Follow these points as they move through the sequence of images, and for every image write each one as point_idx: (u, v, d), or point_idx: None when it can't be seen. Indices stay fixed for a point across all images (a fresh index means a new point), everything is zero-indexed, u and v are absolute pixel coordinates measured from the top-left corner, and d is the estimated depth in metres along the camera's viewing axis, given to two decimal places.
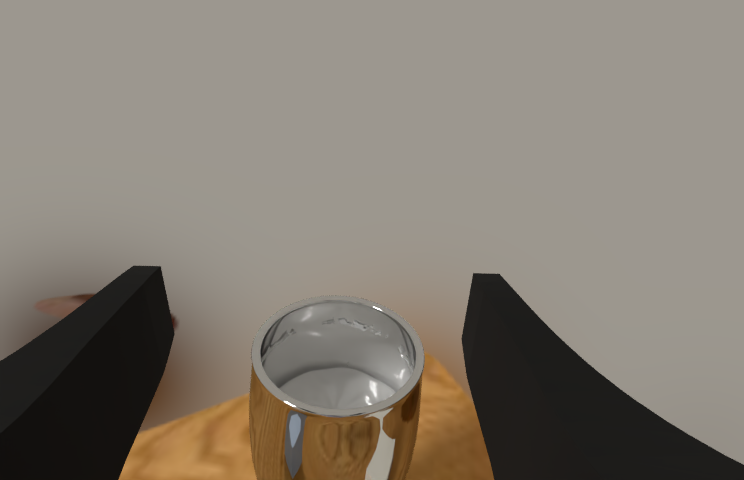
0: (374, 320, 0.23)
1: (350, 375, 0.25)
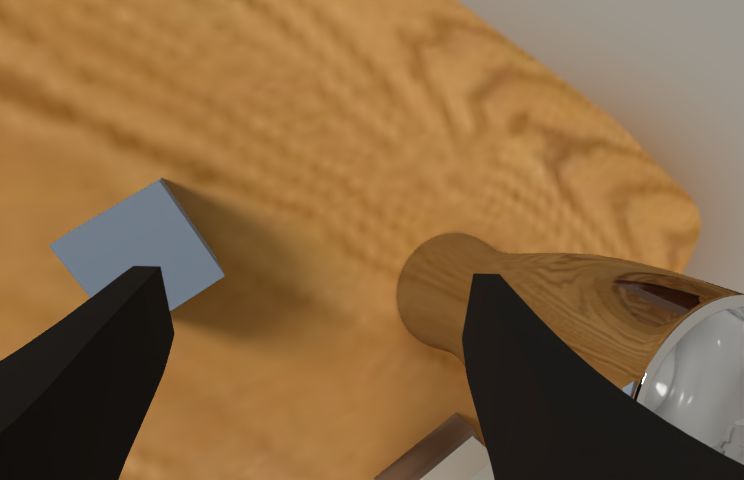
0: None
1: None
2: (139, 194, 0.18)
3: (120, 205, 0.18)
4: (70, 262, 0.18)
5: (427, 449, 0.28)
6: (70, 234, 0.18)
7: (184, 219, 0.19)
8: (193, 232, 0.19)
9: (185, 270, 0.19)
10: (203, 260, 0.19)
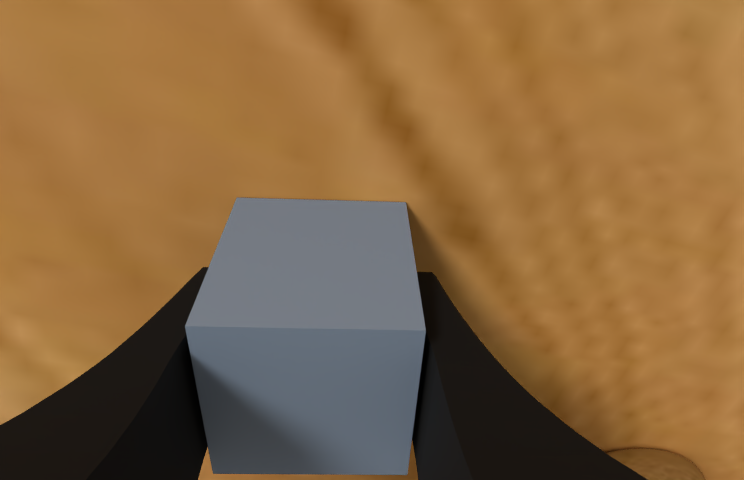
0: None
1: None
2: (379, 332, 0.09)
3: (337, 331, 0.09)
4: (203, 360, 0.09)
5: None
6: (229, 328, 0.09)
7: (415, 392, 0.10)
8: (412, 411, 0.10)
9: (360, 445, 0.11)
10: (395, 447, 0.11)
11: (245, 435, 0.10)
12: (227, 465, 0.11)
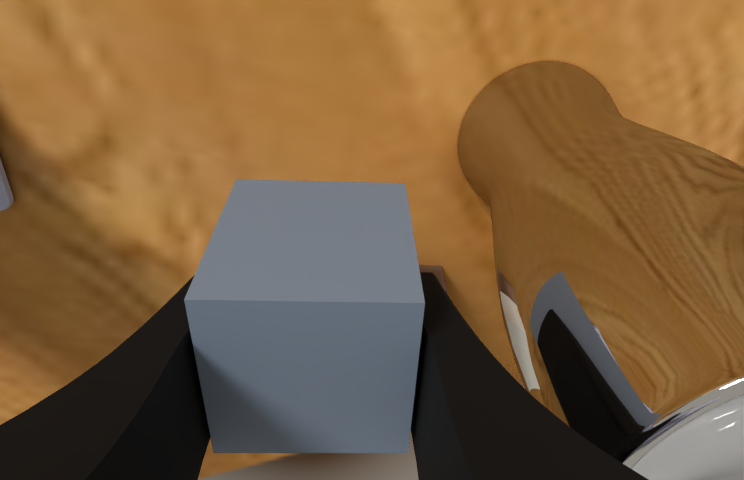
0: None
1: None
2: (378, 304, 0.09)
3: (336, 304, 0.09)
4: (202, 335, 0.09)
5: None
6: (228, 301, 0.09)
7: (415, 367, 0.10)
8: (412, 386, 0.10)
9: (360, 423, 0.11)
10: (395, 424, 0.11)
11: (245, 412, 0.10)
12: (227, 443, 0.11)
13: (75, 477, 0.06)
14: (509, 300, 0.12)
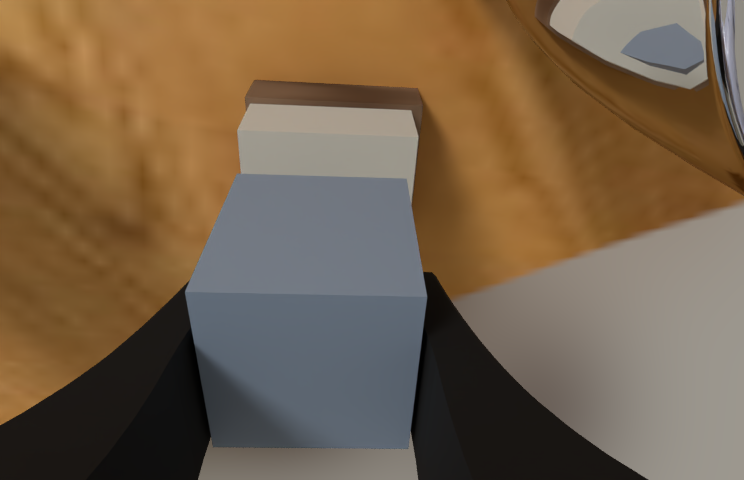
0: None
1: None
2: (380, 298, 0.09)
3: (338, 297, 0.09)
4: (203, 328, 0.09)
5: (345, 92, 0.17)
6: (229, 294, 0.09)
7: (416, 362, 0.10)
8: (413, 381, 0.10)
9: (361, 417, 0.11)
10: (395, 419, 0.11)
11: (245, 407, 0.10)
12: (227, 438, 0.11)
13: (76, 477, 0.06)
14: None
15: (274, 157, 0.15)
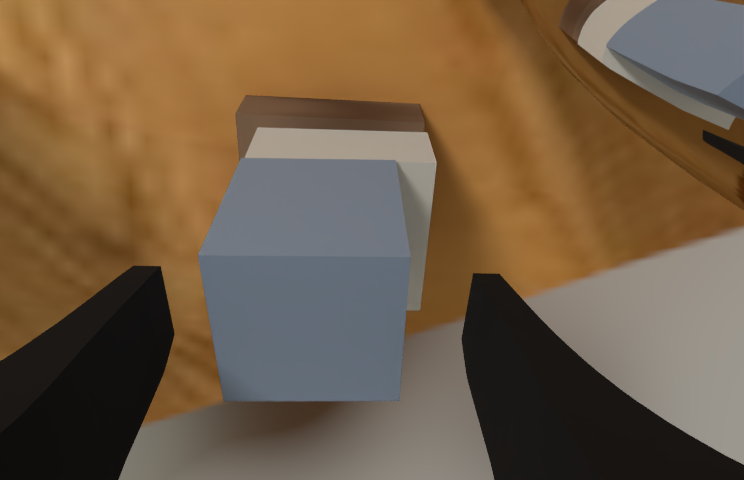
0: None
1: None
2: (369, 258, 0.10)
3: (332, 258, 0.10)
4: (214, 288, 0.11)
5: (342, 107, 0.16)
6: (237, 256, 0.10)
7: (403, 318, 0.11)
8: (402, 337, 0.11)
9: (356, 371, 0.12)
10: (387, 372, 0.12)
11: (252, 362, 0.12)
12: (236, 392, 0.12)
13: None
14: None
15: None
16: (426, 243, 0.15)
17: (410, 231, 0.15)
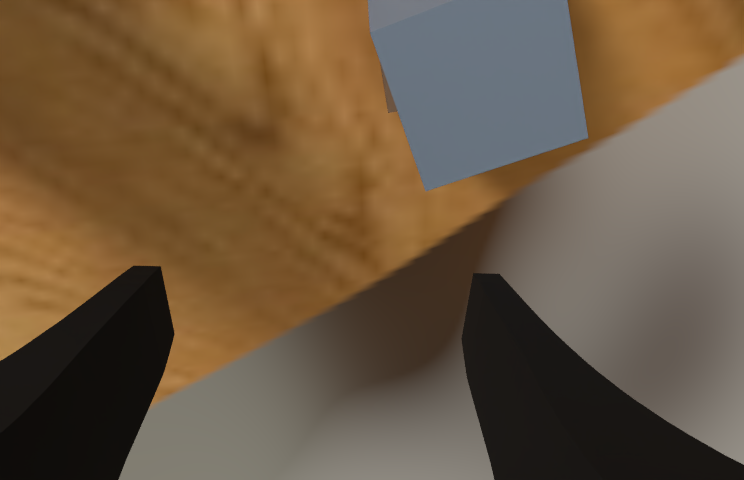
0: None
1: None
2: None
3: None
4: (391, 65, 0.12)
5: None
6: (403, 21, 0.11)
7: (570, 35, 0.11)
8: (573, 59, 0.12)
9: (538, 115, 0.12)
10: (569, 107, 0.12)
11: (441, 137, 0.13)
12: (435, 177, 0.13)
13: None
14: None
15: None
16: None
17: None
